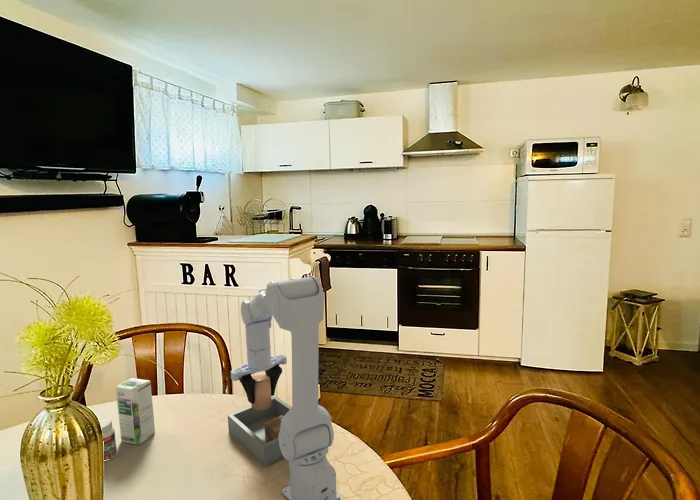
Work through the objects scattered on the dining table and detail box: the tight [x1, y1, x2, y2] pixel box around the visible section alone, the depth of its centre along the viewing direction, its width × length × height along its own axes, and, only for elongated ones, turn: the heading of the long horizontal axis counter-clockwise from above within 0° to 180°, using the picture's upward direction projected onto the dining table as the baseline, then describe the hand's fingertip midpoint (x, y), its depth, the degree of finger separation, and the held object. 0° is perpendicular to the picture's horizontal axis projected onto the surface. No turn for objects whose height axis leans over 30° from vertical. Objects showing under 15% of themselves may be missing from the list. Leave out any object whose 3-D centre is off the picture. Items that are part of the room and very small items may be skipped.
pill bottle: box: [98, 418, 118, 460], centre depth 99 cm, size 5×5×8 cm
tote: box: [227, 395, 292, 468], centre depth 105 cm, size 18×14×5 cm
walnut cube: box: [264, 415, 284, 443], centre depth 102 cm, size 5×5×5 cm
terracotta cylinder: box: [250, 374, 272, 411], centre depth 107 cm, size 5×5×7 cm
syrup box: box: [115, 377, 156, 446], centre depth 106 cm, size 6×6×14 cm
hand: (261, 398), depth 107 cm, fingers closed on terracotta cylinder, 5 cm apart
